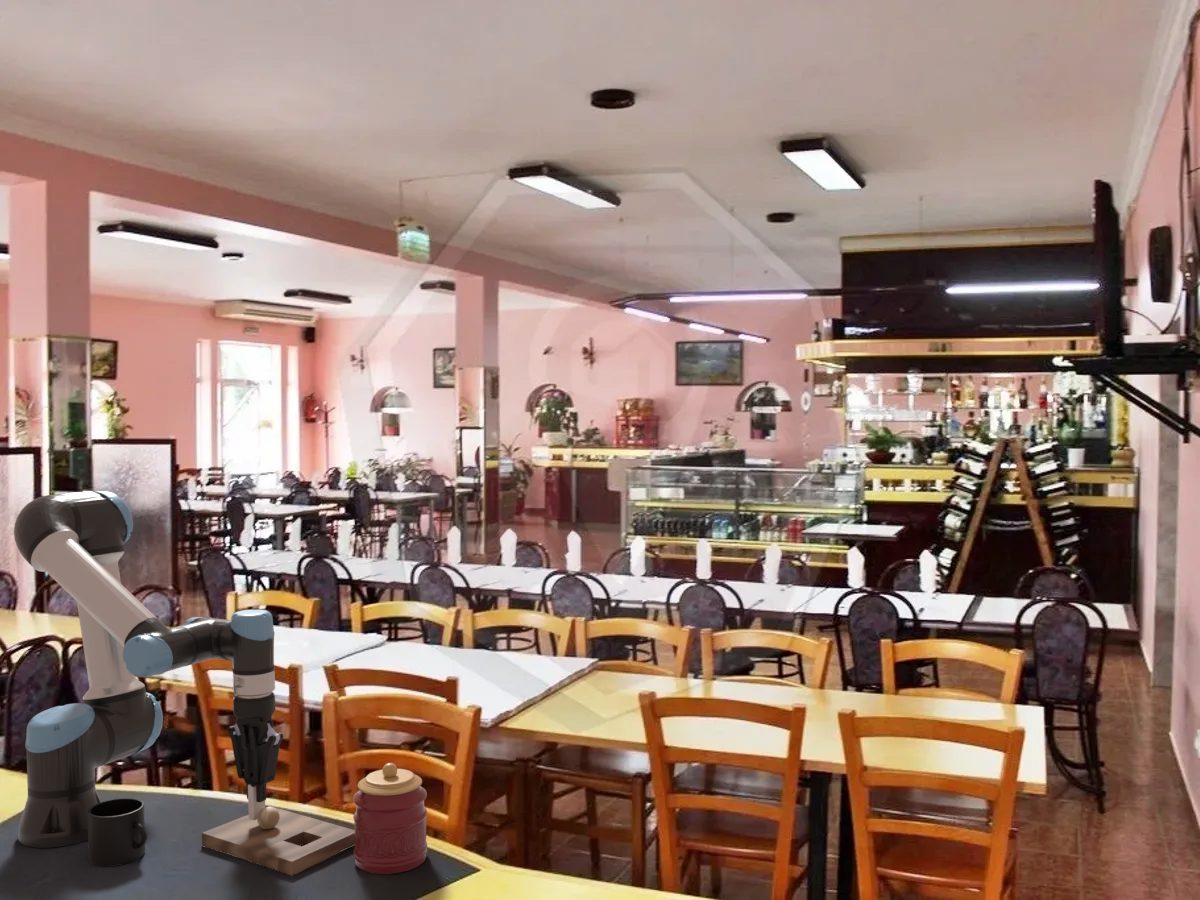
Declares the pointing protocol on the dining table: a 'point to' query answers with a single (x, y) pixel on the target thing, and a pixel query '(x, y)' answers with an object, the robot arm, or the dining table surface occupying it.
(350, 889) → the dining table surface
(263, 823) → the ball
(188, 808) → the dining table surface
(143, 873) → the dining table surface
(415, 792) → the canister
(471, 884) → the dining table surface
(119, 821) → the mug
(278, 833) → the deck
